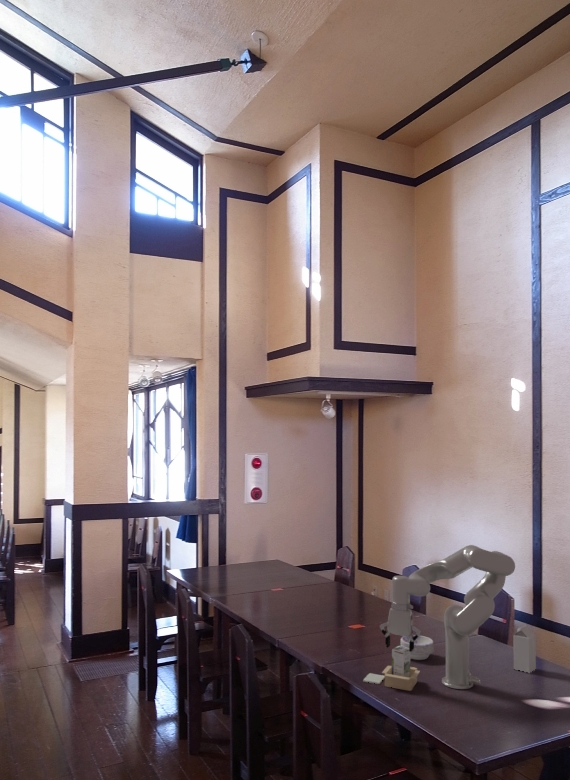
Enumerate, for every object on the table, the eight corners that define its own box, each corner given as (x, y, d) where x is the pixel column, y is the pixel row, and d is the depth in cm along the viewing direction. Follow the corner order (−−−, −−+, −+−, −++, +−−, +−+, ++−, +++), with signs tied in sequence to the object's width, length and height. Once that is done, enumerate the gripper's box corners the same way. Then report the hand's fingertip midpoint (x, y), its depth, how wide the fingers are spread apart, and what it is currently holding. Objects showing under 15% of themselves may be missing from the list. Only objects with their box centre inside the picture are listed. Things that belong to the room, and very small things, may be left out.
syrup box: (398, 680, 266) (398, 644, 267) (410, 684, 262) (410, 647, 263) (391, 684, 262) (391, 648, 263) (404, 688, 258) (403, 651, 259)
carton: (421, 681, 266) (421, 668, 266) (413, 693, 252) (413, 680, 253) (389, 675, 272) (389, 663, 272) (379, 687, 258) (379, 674, 259)
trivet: (385, 677, 269) (385, 675, 269) (379, 684, 261) (379, 682, 261) (369, 674, 272) (369, 673, 272) (363, 681, 264) (363, 680, 264)
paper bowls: (420, 664, 285) (420, 646, 286) (393, 656, 297) (393, 638, 298) (440, 657, 295) (440, 640, 296) (413, 649, 307) (413, 632, 308)
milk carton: (536, 669, 281) (535, 625, 283) (529, 673, 276) (528, 629, 278) (520, 665, 286) (519, 622, 288) (513, 669, 281) (512, 625, 282)
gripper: (423, 607, 264) (422, 649, 263) (382, 601, 272) (381, 642, 270) (419, 611, 258) (418, 655, 256) (377, 605, 265) (376, 647, 263)
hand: (399, 648), depth 263 cm, fingers open, 9 cm apart
